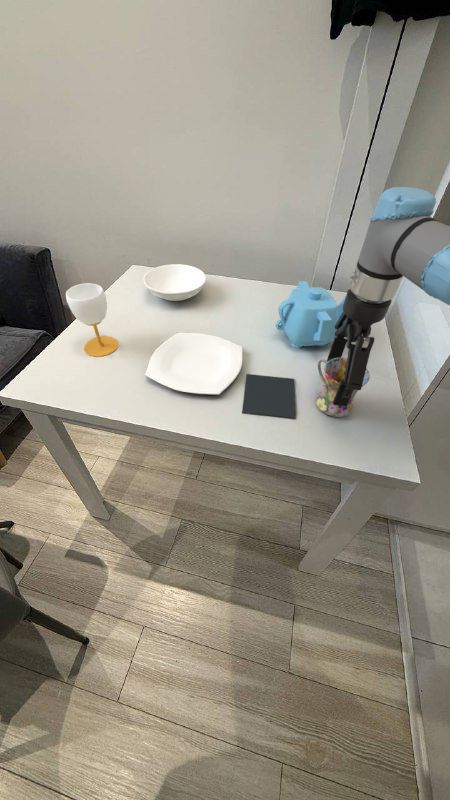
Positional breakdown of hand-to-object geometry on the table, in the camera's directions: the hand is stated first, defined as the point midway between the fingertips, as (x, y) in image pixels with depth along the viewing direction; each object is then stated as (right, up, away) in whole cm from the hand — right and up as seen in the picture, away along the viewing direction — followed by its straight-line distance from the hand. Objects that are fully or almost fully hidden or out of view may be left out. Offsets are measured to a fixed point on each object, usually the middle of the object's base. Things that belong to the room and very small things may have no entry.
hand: (335, 381), depth 72 cm
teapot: (0, +14, +23) cm, 27 cm away
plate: (-32, +5, +12) cm, 34 cm away
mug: (0, -5, +5) cm, 7 cm away
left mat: (-14, -3, +5) cm, 15 cm away
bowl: (-41, +30, +36) cm, 62 cm away
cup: (-58, +10, +17) cm, 61 cm away
